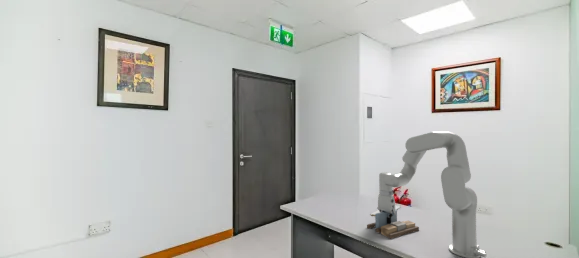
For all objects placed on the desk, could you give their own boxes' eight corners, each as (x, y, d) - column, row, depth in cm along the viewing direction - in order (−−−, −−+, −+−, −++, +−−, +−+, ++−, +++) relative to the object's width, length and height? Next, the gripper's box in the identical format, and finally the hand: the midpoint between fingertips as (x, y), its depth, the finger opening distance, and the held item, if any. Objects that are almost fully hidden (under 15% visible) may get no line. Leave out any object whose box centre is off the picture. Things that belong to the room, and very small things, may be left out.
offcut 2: (406, 232, 142) (406, 223, 142) (398, 234, 139) (397, 225, 139) (399, 229, 146) (398, 220, 146) (390, 231, 143) (390, 223, 143)
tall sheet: (397, 225, 153) (396, 210, 153) (378, 229, 145) (378, 214, 146) (393, 223, 155) (393, 209, 155) (375, 228, 148) (375, 213, 148)
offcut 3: (415, 229, 145) (415, 223, 145) (406, 231, 142) (406, 225, 142) (408, 226, 150) (408, 220, 150) (400, 228, 147) (399, 222, 147)
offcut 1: (396, 234, 138) (396, 227, 138) (388, 237, 135) (388, 229, 135) (389, 231, 143) (389, 224, 143) (381, 234, 139) (381, 226, 139)
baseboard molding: (368, 215, 172) (384, 219, 164) (367, 211, 172) (384, 215, 164) (385, 205, 195) (400, 208, 187) (385, 201, 195) (400, 204, 187)
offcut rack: (418, 230, 144) (418, 226, 144) (390, 238, 133) (390, 235, 133) (394, 220, 159) (394, 217, 159) (367, 227, 149) (367, 224, 149)
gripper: (401, 194, 145) (402, 225, 145) (379, 189, 160) (380, 217, 159) (392, 196, 141) (393, 228, 141) (371, 190, 156) (371, 219, 156)
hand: (386, 222), depth 150 cm, fingers open, 3 cm apart
